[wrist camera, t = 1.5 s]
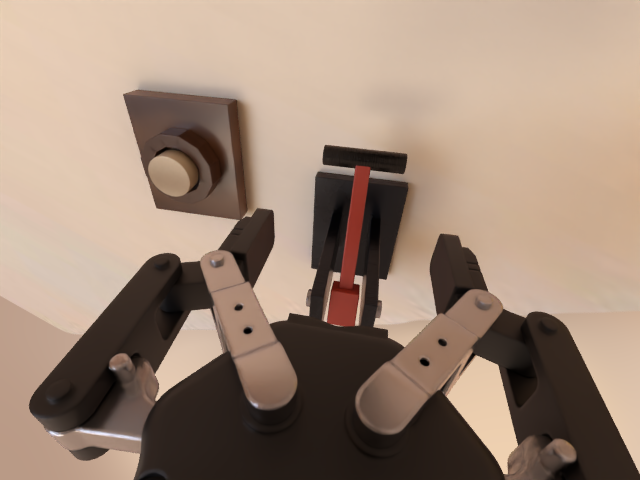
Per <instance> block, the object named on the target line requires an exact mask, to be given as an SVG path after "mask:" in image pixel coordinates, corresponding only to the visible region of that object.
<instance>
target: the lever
mask: <svg viewBox="0 0 640 480" xmlns="http://www.w3.org/2000/svg"><path fill="white" fill-rule="evenodd" d="M406 163H407V154H404V153H395V152H386V151H376V150H367V149H358V148H349V147H340V146H331V145H325V147H324V151H323V164H324V165H331V166H339V167H348V168H355V174H354V181H353V188H352V196H351V203H350V210H349V217H348V225H347V232H346V239H345V247H344V254H343V261H342V269H341V276H340V282H339V281H334V282H333V286H332V289H331V295H330V302H329V310H328V317H327V323H329V324H334V325H340V326H355V320H356V313H357V307H358V300H359V288H360V285H358V284H354V277H355V270H356V263H357V257H358V250H359V243H360V236H361V230H362V223H363V216H364V209H365V202H366V196H367V189H368V182H369V175H370V170H373V171H382V172H390V173H399V174H404V172H405V168H406Z"/></svg>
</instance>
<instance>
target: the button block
mask: <svg viewBox="0 0 640 480" xmlns="http://www.w3.org/2000/svg"><path fill="white" fill-rule="evenodd" d="M123 96H124V99H125V103H126V106H127V109H128V113H129V116H130V120H131V123H132V127H133V130H134V133H135V137H136V140H137V144H138V147H139V150H140V154H141V160H142V164H143V167H144V170H145V174H146V176H147V178H148V181H149V185H150V188H151V191H152V195H153V198H154V202H155V205H156V208H158V209H165V210H172V211H179V212H187V213H194V214H201V215H208V216H215V217H222V218H229V219H236V220H241V219H242V218H243V216H244V215H245V214H246V212H247V204H246V194H245V184H244V174H243V164H242V153H241V143H240V133H239V123H238V113H237V102H236V100H233V99H223V98H213V97H203V96H193V95H183V94H172V93H162V92H152V91H142V90H135V91H132V92H129V93H126V94H123ZM166 150H178V151H181V152H183V153H185V154H186V155H188V156H189V157H190V158H191V159H192V160H193V161H194V163H195V164H196V166H197V169H198V172H199V179H198V182H197V184H196V185H195V186H194V187H193V188H192V189H190V190H189V191H188V192H187V193H186V194H185V195H183V196H178V197H175V196H170V195H167V194H165V193H163V192H162V191H161V190H159V189H158V188H157V187H156V186H155V185H154V183H153V182H152V180H151V178H150V176H149V172H148V167H149V163H150V161H151V160H152V159H153V158H155V157H156V156H158V155H160V154H161V153H163V152H164V151H166Z"/></svg>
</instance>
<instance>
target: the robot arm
mask: <svg viewBox="0 0 640 480" xmlns="http://www.w3.org/2000/svg"><path fill="white" fill-rule="evenodd" d="M274 238H275V234H274V213H273V210H267V209H260V208H257V209H256V211H255V212H254V214H253V215H252V217H245V218H243V219H241V220H240V221H238V222H237V224H236V225H235V227H234V229H232V231H231V232H230V234H229V235H228V237H227V238H226V239H225V241H224V242H223V244H222V245H221V246H220V248H219V249H218V250H216V251H212V252H209V253H207V254H205V255H204V256H203V257H202V258H201V260H200V261H197V262H185V263H181V261H180V258H179V257H178V256H177V255H175V254H171V253H164V254H159V255H156V256H154V257H152V258H150V259H149V260H147V261H146V263H145V264H144V265H143V266H142V267H141V268H140V270H139V271H138V272H137V273H136V274H135V275H134V277H133V278H132V279H131V280H130V281H129V282H128V284H127V285H126V286H125V287H124V288H123V289H122V291H121V292H120V293H119V294H118V295H117V296H116V298H115V299H114V300H113V301H112V302H111V303H110V305H109V306H108V307H107V308H106V309H105V310H104V312H103V313H102V314H101V315H100V316H99V317H98V319H97V320H96V321H95V322H94V323H93V324H92V326H91V327H90V328H89V329H88V330H87V331H86V333H85V334H84V335H83V336H82V337H81V338H80V340H79V341H78V342H77V343H76V344H75V345H74V346H73V348H72V349H71V350H70V351H69V352H68V353H67V355H66V356H65V357H64V358H63V359H62V360H61V362H60V363H59V364H58V365H57V366H56V367H55V369H54V370H53V371H52V372H51V373H50V374H49V376H48V377H47V378H46V379H45V380H44V382H43V383H42V384H41V385H40V386H39V387H38V389H37V390H36V391H35V392H34V394H33V396H32V397H31V400H30V404H29V409H30V412H31V413H32V414H33V416H34V417H36V419H38V421H39V422H41V424H43V425H44V428H45V430H46V431H47V432H48V433H49V434H50V435H51V436H52V437H53V438H54V439H55V440H56V441H57V442H58V443H59V444H60V445H61V446H62V447H64V448H65V449H67V450H69V451H70V452H71V453H72V454H73V455H74V456H75V457H76V458H77V459H79V460H86V461H87V460H92V459H95V458H98V457H99V456H101V455H103V454H105V453H106V452H107V451H108V450H109V449H113V450H119V451H126V452H132V453H139V454H140V459H139V463H138V468H137V471H136V474H135V477H134V480H640V474H639V472H638V470H637V468H636V466H635V464H634V462H633V460H632V458H631V455H630V454H629V451H628V449H627V447H626V445H625V443H624V441H623V439H622V437H621V436H620V433H619V431H618V429H617V427H616V425H615V423H614V421H613V419H612V417H611V415H610V413H609V411H608V409H607V407H606V405H605V403H604V401H603V399H602V397H601V395H600V393H599V391H598V389H597V387H596V385H595V383H594V381H593V379H592V376H591V374H590V372H589V370H588V368H587V367H586V364H585V362H584V360H583V358H582V356H581V354H580V352H579V350H578V348H577V346H576V344H575V342H574V340H573V338H572V336H571V334H570V332H569V330H568V328H567V327H566V326H565V325H564V324H563V323H562V322H561V321H560V320H558V319H557V318H555V317H554V316H552V315H550V314H547V313H544V312H531V313H529V314H528V316H527V317H526V318H524V317H522V316H519V315H517V314H514V313H511V312H509V311H507V310H505V309H503V305H502V303H501V301H500V300H499V299H498V298H497V297H496V296H494V295H493V294H491V293H489V292H488V289H487V286H486V284H485V281H484V278H483V275H482V273H481V272H480V267H479V265H478V261H477V259H476V256H475V255H474V254H473V253H472V251H471V250H470V249H469V248H465V247H462V246H461V243H460V240H459V237H458V236H456V235H448V234H440V236H439V238H438V241H437V244H436V247H435V250H434V253H433V256H432V259H431V263H430V275H431V281H432V288H433V294H434V300H435V306H436V312H437V316H436V317H435V318H434V319H433V320H432V321H431V322H430V323H429V324H428V325H427V326H426V327H425V328H424V329H423V330H422V331H421V332H420V333H419V334H418V335H417V336H416V337H415V338H414V339H413V340H412V341H411V342H410V343H409V344H408V345H407V346H406V347H403V346H402V345H401V344H399V343H397V342H396V341H394V340H392V339H390V338H388V330H386V329H380V328H374V327H368V326H342V327H338V326H334V325H332V324H329V323H327V322H324V321H322V320H319V319H317V318H314V317H310V316H304V315H298V314H292V313H290V314H289V317H288V320H286V321H278V322H274V323H271V324H269V322H268V320H267V318H266V316H265V314H264V312H263V310H262V308H261V306H260V303H259V301H258V299H257V297H256V295H255V293H254V291H253V287H254V285H255V283H256V281H257V279H258V277H259V275H260V273H261V271H262V269H263V267H264V264H265V262H266V260H267V258H268V256H269V254H270V252H271V250H272V248H273V245H274ZM200 309H210V310H211V313H212V316H213V320H214V323H215V326H216V329H217V332H218V336H219V339H220V342H221V346H222V350H223V354H221V355H220V356H218V357H217V358H215V359H214V360H212V361H211V362H209V363H208V364H206V365H205V366H203V367H202V368H200V369H199V370H197V371H196V372H194V373H193V374H191V375H190V376H188V377H187V378H185V379H184V380H182V381H181V382H179V383H178V384H176V385H175V386H173V387H172V388H171V389H169V390H168V391H167V392H166V393H164V394H163V395H162V396H161V398H160V399H159V400H158V401H155V398H156V395H157V393H158V389H159V383H158V380H157V378H156V376H155V373H156V371H157V369H158V368H159V366H160V364H161V362H162V361H163V359H164V357H165V355H166V354H167V352H168V350H169V348H170V347H171V345H172V343H173V341H174V339H175V338H176V336H177V334H178V333H179V331H180V329H181V327H182V326H183V324H184V322H185V320H186V319H187V317H188V315H189V313H190V312H191V310H200ZM476 356H480V357H482V358H485V359H486V360H489V361H491V362H493V363H496V364H498V366H499V370H500V374H501V378H502V382H503V386H504V390H505V394H506V398H507V402H508V406H509V410H510V414H511V419H512V423H513V427H514V431H515V434H516V439H517V443H518V447H517V448H516V449H515V450H514V451H513V452H512V453H511V454H510V456H509V458H508V474H507V475H506V474H503V472H502V470H501V468H500V466H499V464H498V462H497V461H496V459H495V457H494V456H493V455H492V453H491V452H490V451H489V449H488V448H487V447H486V446H485V445H484V443H483V442H482V441H481V439H480V438H479V437H478V436H477V435H476V433H475V432H474V431H473V429H472V428H471V427H470V426H469V424H468V423H467V422H466V421H465V419H464V418H463V417H462V416H461V414H460V413H459V412H458V411H457V410H456V408H455V407H454V406H453V405H452V403H451V402H450V401H449V400H448V398H447V397H446V396H447V395H448V393H449V392H450V390H451V389H452V387H453V386H454V384H455V383H456V382H457V380H458V379H459V378H460V376H461V375H462V374H463V372H464V371H465V370H466V369H467V367H468V366H469V365H470V363H471V362H472V361H473V359H474V358H475V357H476Z"/></svg>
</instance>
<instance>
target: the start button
mask: <svg viewBox="0 0 640 480" xmlns="http://www.w3.org/2000/svg"><path fill="white" fill-rule="evenodd" d="M148 172H149V176H150V178H151V180H152V182H153V183H154V185H155V186H156V187H157V188H158V189H159V190H161V191H162V192H163V193H165V194H167V195H170V196H175V197H178V196H183V195H185V194H186V193H187V192H188V191H189V190H190V189H192V188H193V187H194V186H195V185H196V184H197V182H198V179H199V172H198V169H197V166H196V164H195V163H194V161H193V160H192V159H191V158H190V157H189V156H188V155H186V154H185V153H183V152H181V151H178V150H166V151H164V152H163V153H161V154H160V155H158V156H156V157H155V158H153V159H152V160H151V161H150V163H149V167H148Z"/></svg>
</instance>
